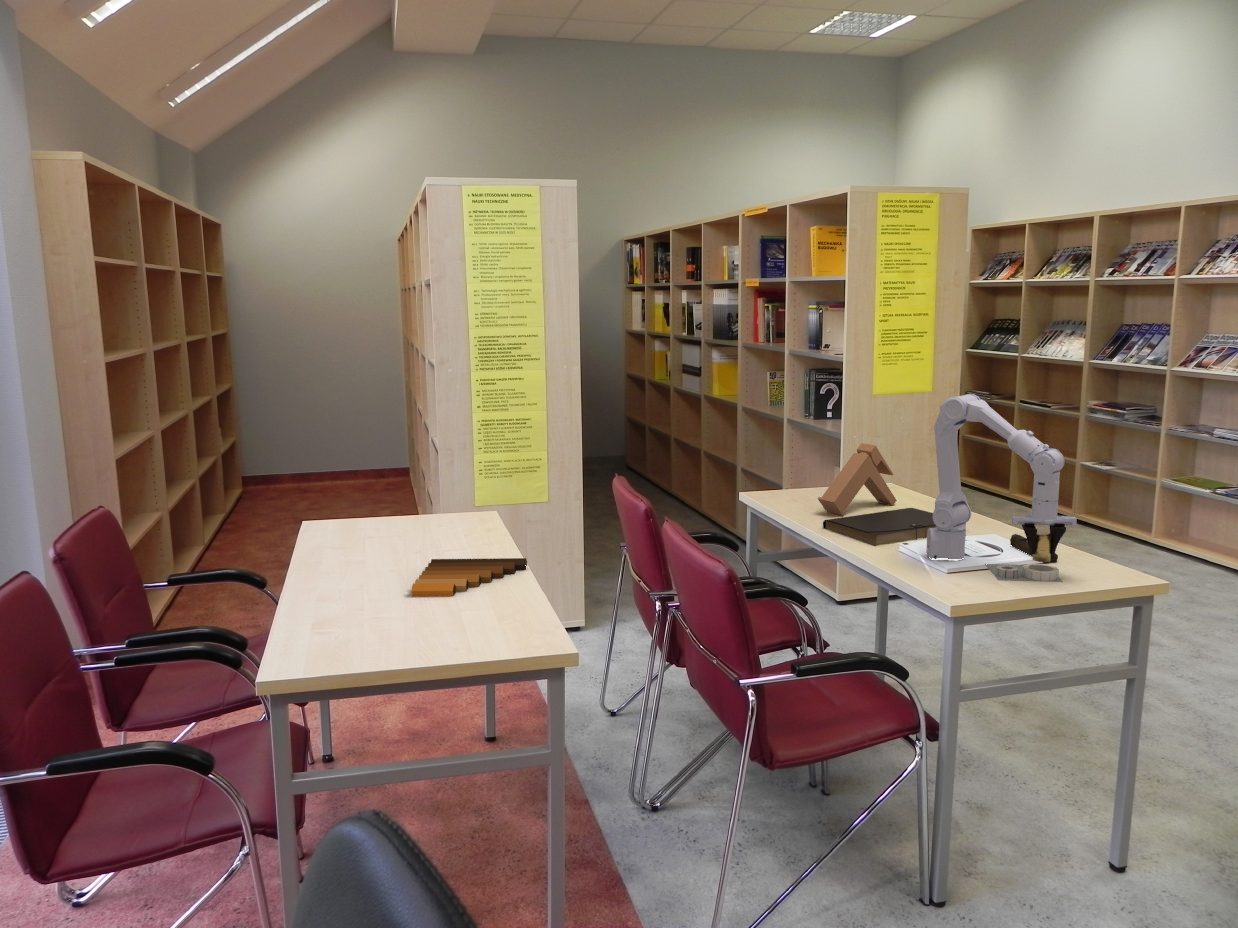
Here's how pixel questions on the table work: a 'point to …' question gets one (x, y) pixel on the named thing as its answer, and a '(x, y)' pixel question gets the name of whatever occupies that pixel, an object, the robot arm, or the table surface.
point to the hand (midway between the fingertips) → (1041, 553)
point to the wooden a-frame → (858, 481)
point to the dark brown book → (884, 526)
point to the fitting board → (1025, 572)
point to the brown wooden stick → (1027, 546)
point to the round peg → (1042, 547)
